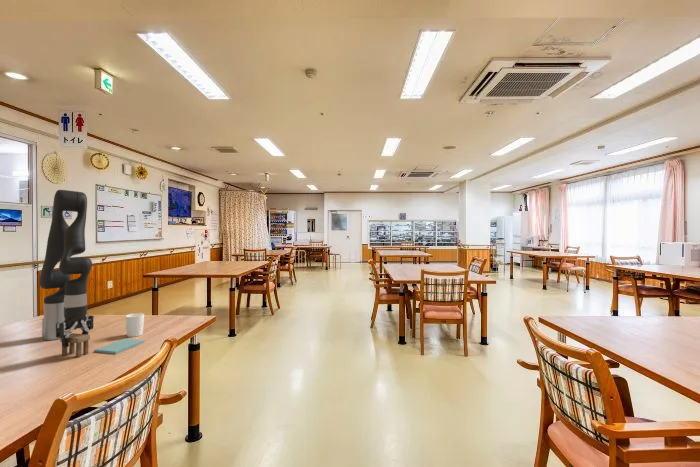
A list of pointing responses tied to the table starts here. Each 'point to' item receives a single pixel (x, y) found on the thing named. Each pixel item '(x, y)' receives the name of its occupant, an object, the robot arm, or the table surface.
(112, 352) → the board
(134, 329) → the white cup
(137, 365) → the table surface
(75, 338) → the tan slab with prongs
